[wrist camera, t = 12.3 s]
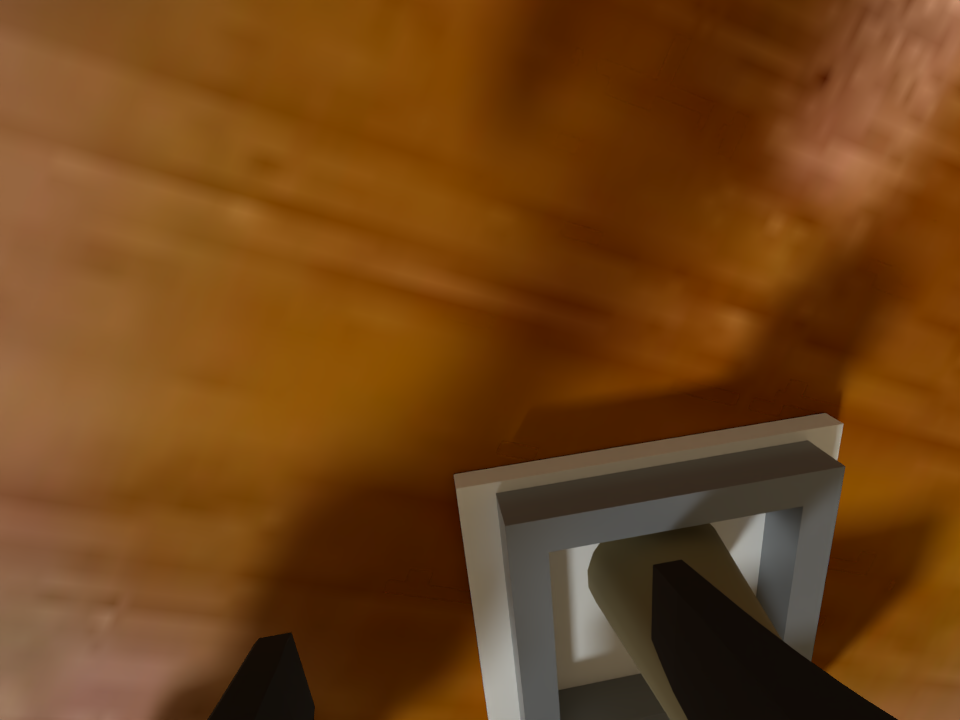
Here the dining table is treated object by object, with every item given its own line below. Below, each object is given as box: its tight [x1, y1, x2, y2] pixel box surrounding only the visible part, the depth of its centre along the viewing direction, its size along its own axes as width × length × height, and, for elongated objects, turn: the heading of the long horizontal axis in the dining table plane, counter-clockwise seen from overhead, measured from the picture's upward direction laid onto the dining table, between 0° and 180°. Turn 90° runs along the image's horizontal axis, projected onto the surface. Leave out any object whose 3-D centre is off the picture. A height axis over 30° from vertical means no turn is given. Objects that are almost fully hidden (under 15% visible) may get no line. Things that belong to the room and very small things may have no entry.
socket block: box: [454, 413, 845, 720], centre depth 21 cm, size 16×19×10 cm
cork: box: [587, 523, 782, 720], centre depth 18 cm, size 6×6×11 cm
